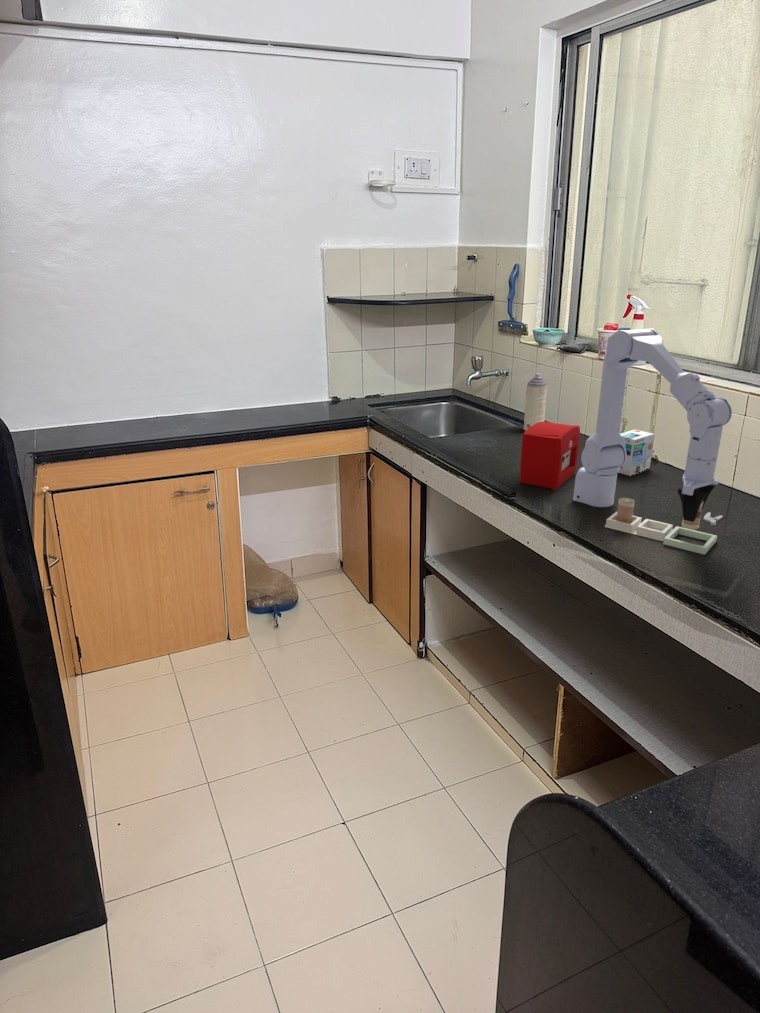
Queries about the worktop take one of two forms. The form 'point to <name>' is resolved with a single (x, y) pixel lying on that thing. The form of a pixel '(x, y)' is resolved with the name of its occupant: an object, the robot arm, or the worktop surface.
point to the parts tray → (704, 549)
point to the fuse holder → (641, 527)
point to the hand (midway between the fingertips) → (691, 517)
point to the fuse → (625, 510)
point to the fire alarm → (549, 454)
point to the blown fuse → (696, 522)
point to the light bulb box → (637, 451)
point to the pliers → (712, 520)
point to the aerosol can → (535, 401)
